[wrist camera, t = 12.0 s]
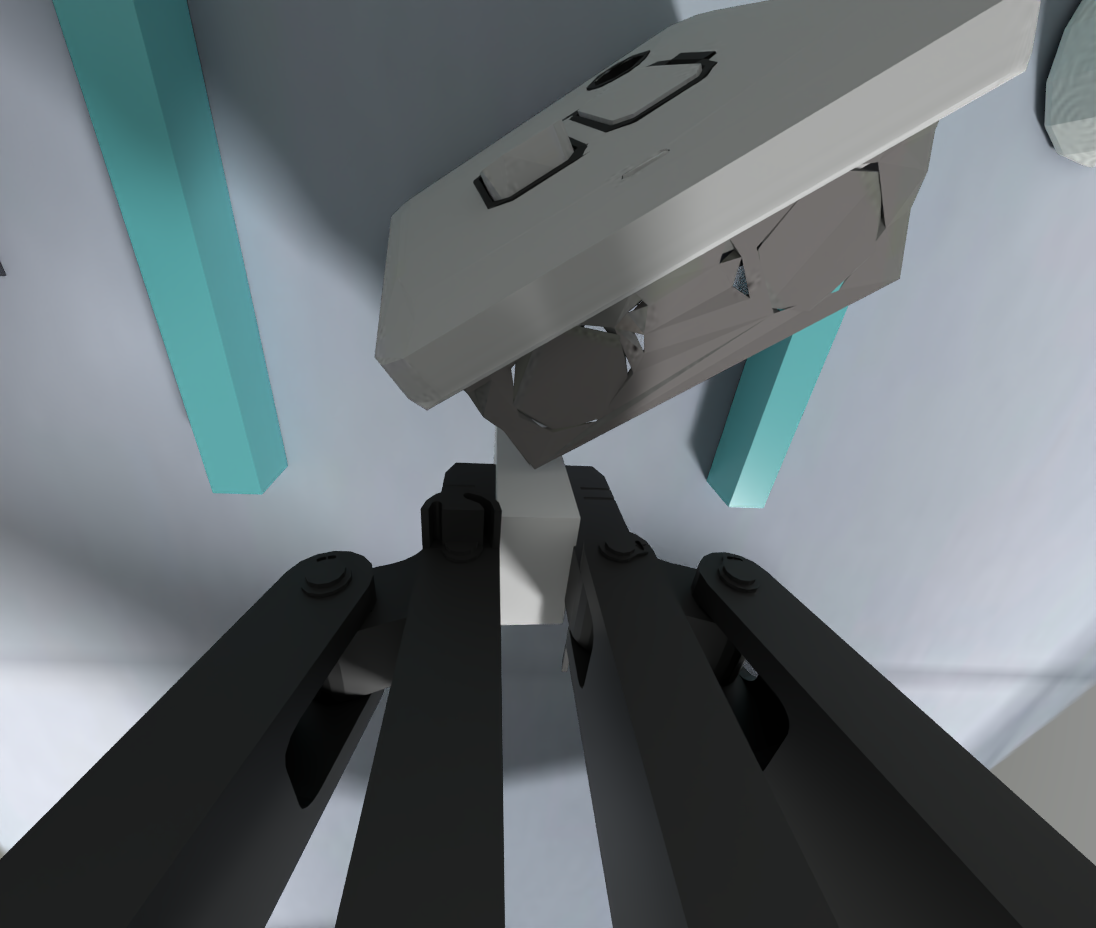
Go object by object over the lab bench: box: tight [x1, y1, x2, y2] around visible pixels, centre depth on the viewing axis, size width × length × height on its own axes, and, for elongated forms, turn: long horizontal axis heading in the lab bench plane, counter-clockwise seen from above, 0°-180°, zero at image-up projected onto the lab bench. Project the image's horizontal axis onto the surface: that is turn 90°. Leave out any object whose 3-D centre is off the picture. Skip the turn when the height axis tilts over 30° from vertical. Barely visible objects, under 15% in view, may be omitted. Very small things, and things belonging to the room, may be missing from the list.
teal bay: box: [52, 0, 848, 508], centre depth 11 cm, size 20×20×2 cm
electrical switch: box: [375, 0, 1041, 469], centre depth 9 cm, size 9×5×9 cm, turn 118°
